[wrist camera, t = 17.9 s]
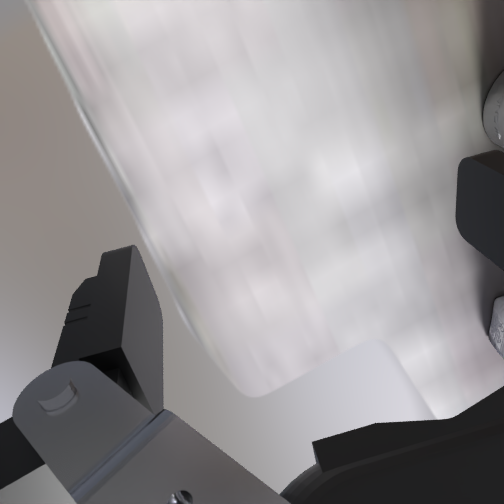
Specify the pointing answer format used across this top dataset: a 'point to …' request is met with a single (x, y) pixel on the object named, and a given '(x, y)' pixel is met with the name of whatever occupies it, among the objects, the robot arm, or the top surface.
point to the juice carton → (498, 326)
